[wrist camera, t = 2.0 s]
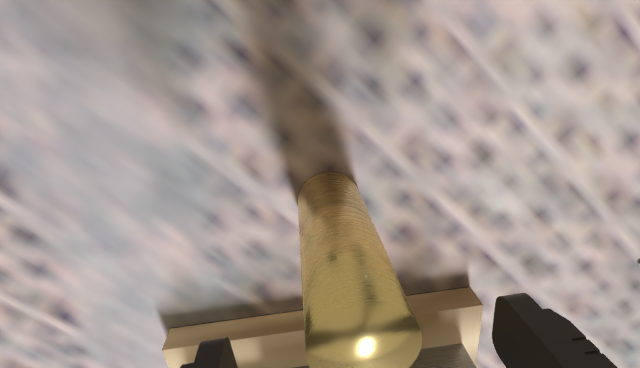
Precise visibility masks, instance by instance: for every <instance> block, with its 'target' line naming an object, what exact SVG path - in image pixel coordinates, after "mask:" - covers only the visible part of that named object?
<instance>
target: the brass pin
mask: <svg viewBox="0 0 640 368" xmlns="http://www.w3.org/2000/svg"><path fill="white" fill-rule="evenodd" d="M298 216H299V235H300V254H301V274H302V293H303V313H304V332H305V351H306V359H307V363H308V365H309V367H310V368H409V367H410V366H411V365H412V364H413V362H414V361H415V360H416V358H417V357H418V354H419V352H420V350H421V346H422V333H421V329H420V327H419V325H418V322H417V320H416V318H415V316H414V313H413V311H412V309H411V307H410V304H409V302H408V300H407V298H406V295H405V293H404V291H403V289H402V287H401V284H400V282H399V280H398V278H397V275H396V273H395V271H394V269H393V266H392V264H391V262H390V260H389V257H388V255H387V253H386V251H385V249H384V246H383V244H382V242H381V240H380V237H379V235H378V233H377V231H376V228H375V226H374V224H373V222H372V219H371V217H370V215H369V213H368V210H367V208H366V206H365V204H364V202H363V199H362V197H361V195H360V193H359V190H358V188H357V186H356V185H355V183H354V182H353V181H352V180H351V179H350V178H349V177H347V176H345V175H343V174H341V173H337V172H324V173H320V174H317V175H315V176H313V177H311V178H310V179H309V180H307V181H306V182H305V184H304V185H303V186H302V188H301V190H300V192H299V195H298Z"/></svg>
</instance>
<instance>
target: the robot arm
mask: <svg viewBox="0 0 640 368" xmlns="http://www.w3.org/2000/svg"><path fill="white" fill-rule="evenodd" d="M492 339H493V344H494V347H495V350H496V352H497V354H498V356H499V357H500V359H501V360H502V362H503V363H504V365H505V366H506V368H617V367H616V366H615V365H614V364H613V363H612V362H611V361H610V360H609V359H608V358H607V357H606V356H605V355H604V354H601V353H600V351H599V349H598V348H597V347H596V346H595V345H594V344H593V343H592V342H591V341H590V340H587V339H586V336H585V335H584V334H582V333H581V332H580V331H579V330H578V329H577V328H576V327H575V326H574V325H573V324H572V323H571V322H570V321H569V320H567V319H566V318H564V317H562V316H561V315H559V314H557V313H556V312H554V311H552V310H551V309H542V308H541V307H540V306H539V305H538V304H537V303H536V302H535V301H534V300H533V299H532V298H531V297H530V296H529V295H528V294H526V293H520V294H513V295H506V296H500V297H498V298H497V299H496V303H495V312H494V321H493V330H492ZM180 368H238V367H237V363H236V360H235V356H234V353H233V350H232V346H231V343H230V340H229V338H228V337H226V338H220V339H213V340H207V341H202V342H201V343H200V344H199V347H198V350H197V353H196V357H195V360H194V363H188V364H182V366H181V367H180Z"/></svg>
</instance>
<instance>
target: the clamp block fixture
mask: <svg viewBox="0 0 640 368" xmlns="http://www.w3.org/2000/svg"><path fill="white" fill-rule="evenodd" d="M406 298H407V300H408V302H409V304H410V307H411V309H412V311H413V313H414V316H415V318H416V320H417V322H418V325H419V327H420V329H421V333H422V346H421V350H420V352H419V354H418V357H417V358H416V360H415V361H414V362H413V364H412V365H411V366H410V367H409V368H476V358H477V350H478V342H479V334H480V326H481V318H482V310H483V304H482V303H481V301H480V300H479V299H478V297H477V296H476V294H475V293H474V292H473V290H472V289H471V287H467V288H460V289H453V290H446V291H438V292H431V293H424V294H417V295H409V296H406ZM226 337H228V338H229V340H230V343H231V346H232V350H233V353H234V356H235V360H236V363H237V367H238V368H310V367H309V365H308V363H307V359H306V351H305V332H304V313H303V310H301V311H294V312H287V313H280V314H272V315H265V316H258V317H251V318H244V319H236V320H229V321H222V322H215V323H207V324H200V325H193V326H186V327H179V328H171V329H170V331H169V334H168V336H167V339H166V341H165V343H164V346H163V348H162V352H163V355H164V357H165V360H166V362H167V364H168V367H169V368H180V367H181V366H182V364H188V363H194V360H195V357H196V353H197V350H198V347H199V344H200V343H201V342H202V341H207V340H213V339H220V338H226Z"/></svg>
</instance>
